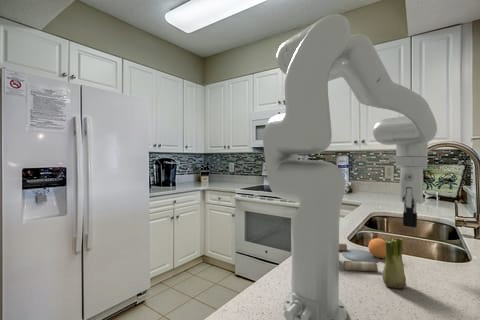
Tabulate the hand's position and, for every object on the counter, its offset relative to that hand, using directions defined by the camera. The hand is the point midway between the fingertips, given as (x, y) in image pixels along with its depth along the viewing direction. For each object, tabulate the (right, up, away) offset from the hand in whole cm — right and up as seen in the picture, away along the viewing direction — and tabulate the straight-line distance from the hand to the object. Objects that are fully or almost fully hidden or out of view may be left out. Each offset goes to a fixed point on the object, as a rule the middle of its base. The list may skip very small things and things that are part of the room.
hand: (409, 226), depth 72 cm
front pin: (-11, -11, -2) cm, 16 cm away
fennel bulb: (-11, -13, -10) cm, 19 cm away
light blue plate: (-10, -12, +9) cm, 18 cm away
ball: (-5, -9, +8) cm, 13 cm away
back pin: (-13, -11, +13) cm, 22 cm away
